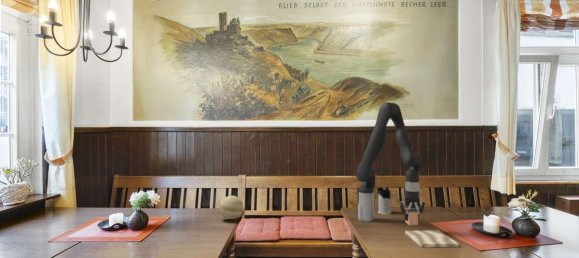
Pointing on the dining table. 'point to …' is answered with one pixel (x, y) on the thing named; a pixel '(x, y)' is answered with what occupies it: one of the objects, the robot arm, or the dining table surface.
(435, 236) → the board
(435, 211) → the dining table surface
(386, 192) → the glass holder
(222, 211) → the decorative ball
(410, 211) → the block
